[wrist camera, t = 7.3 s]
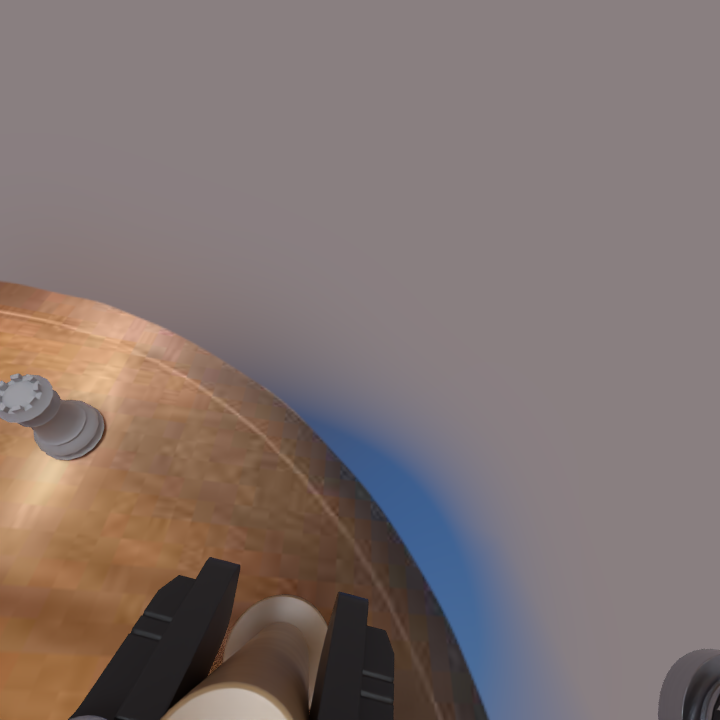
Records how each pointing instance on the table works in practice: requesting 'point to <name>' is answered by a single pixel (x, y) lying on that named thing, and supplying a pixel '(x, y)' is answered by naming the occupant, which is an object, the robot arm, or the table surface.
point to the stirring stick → (262, 666)
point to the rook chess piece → (51, 416)
